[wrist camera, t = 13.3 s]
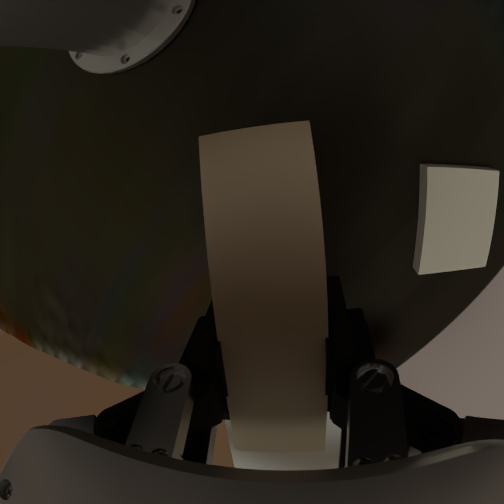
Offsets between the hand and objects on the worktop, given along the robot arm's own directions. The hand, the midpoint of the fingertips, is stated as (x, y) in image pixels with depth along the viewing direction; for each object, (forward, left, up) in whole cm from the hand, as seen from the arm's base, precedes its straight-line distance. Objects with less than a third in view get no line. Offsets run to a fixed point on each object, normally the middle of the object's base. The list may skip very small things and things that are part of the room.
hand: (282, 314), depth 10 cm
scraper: (+2, 0, 0) cm, 2 cm away
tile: (-3, +15, -11) cm, 19 cm away
